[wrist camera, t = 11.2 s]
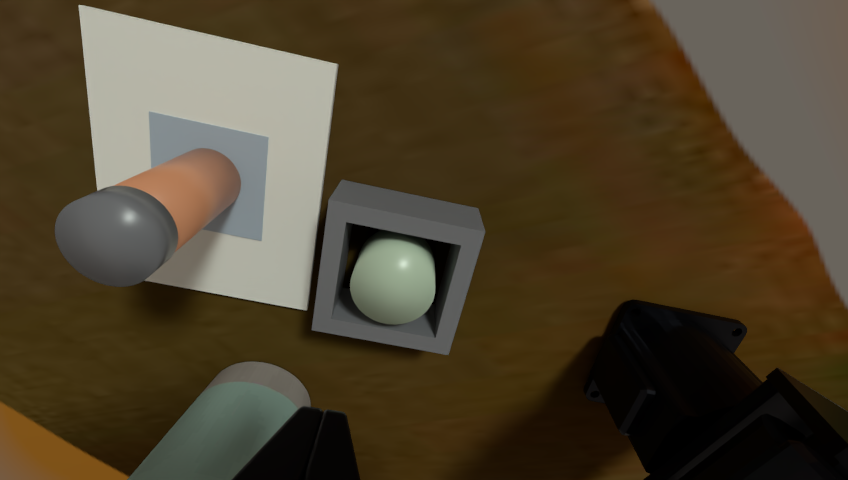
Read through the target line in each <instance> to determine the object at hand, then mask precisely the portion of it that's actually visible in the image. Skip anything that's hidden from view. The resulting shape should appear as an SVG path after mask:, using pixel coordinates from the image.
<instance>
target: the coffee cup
mask: <svg viewBox="0 0 848 480" xmlns="http://www.w3.org/2000/svg"><path fill="white" fill-rule="evenodd" d="M302 406H308V407H311V403H310V398H309V395H308V392H307V390H306V389H305V387H304V386H303V384H302V383H301V382H300V381H299V380H298V379H297V378H296V377H295V376H294V375H292V374H291V373H289V372H288V371H286V370H284V369H282V368H280V367H277V366H275V365H272V364H268V363H263V362H242V363H237V364H234V365H231V366H229V367H227V368H225V369H224V370H222V371H221V372H220V373H219V374H218V375H217V376H216V377H215V378H214V379H213V381H212V382H211V383H210V384H209V385H208V386H207V387H206V389H205V390H204V391H203V392H202V393H201V394H200V396H199V397H198V398H197V399H196V400H195V401H194V402H193V404H192V405H191V406H190V407H189V408H188V409H187V411H186V412H185V413H184V414H183V415H182V416H181V418H180V419H179V420H178V421H177V422H176V423H175V425H174V426H173V427H172V428H171V429H170V430H169V432H168V433H167V434H166V435H165V436H164V437H163V439H162V440H161V441H160V442H159V443H158V444H157V446H156V447H155V448H154V449H153V450H152V451H151V453H150V454H149V455H148V456H147V457H146V458H145V460H144V461H143V462H142V463H141V464H140V465H139V467H138V468H137V469H136V470H135V471H134V472H133V474H132V475H131V476H130V477H129V478H128V479H127V480H231V479H232V478H233V477H234V476H235V475H236V474H237V473H238V472H239V471H240V470H241V469H242V468H243V467H244V466H245V465H246V464H247V462H248V461H249V460H250V459H251V458H252V457H253V456H254V455H255V454H256V453H257V452H258V451H259V450H260V449H261V448H262V447H263V445H264V444H265V443H266V442H267V441H268V440H269V439H270V438H271V437H272V436H273V435H274V434H275V433H276V432H277V431H278V430H279V428H280V427H281V426H282V425H283V424H284V423H285V422H286V421H287V420H288V419H289V418H290V417H291V416H292V415H293V414H294V413H295V412H296V410H297V409H299V408H300V407H302Z"/></svg>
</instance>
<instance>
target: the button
mask: <svg viewBox="0 0 848 480" xmlns="http://www.w3.org/2000/svg"><path fill="white" fill-rule="evenodd" d="M350 292H351V296H352V299H353V301H354V303H355V305H356V306H357V307H358V309H359V310H360V311H361V312H362V313H363V314H365V315H366V316H367V317H369V318H371V319H373V320H375V321H377V322H380V323H384V324H393V325H397V324H404V323H408V322H411V321H413V320H416V319H417V318H419V317H421V316H422V315H423V314H424V313H425V312H426V311H427V310H428V309H429V307H430V306H431V304H432V302H433V300H434V296H435V259H434V254H433V251H432V249H431V247H430V246H429V244H428V243H427V242H426V240H425V239H423V238H422V237H417V236H412V235H407V234H402V233H397V232H392V231H388V230H381V231H378V232H376V233H375V234H373V235H372V236H370V237H369V238H368V239H367V240H366V241H365V243H364V244H363V246H362V248H361V250H360V253H359V256H358V259H357V262H356V265H355V268H354V271H353V273H352V277H351V281H350Z"/></svg>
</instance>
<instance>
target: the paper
mask: <svg viewBox="0 0 848 480" xmlns="http://www.w3.org/2000/svg"><path fill="white" fill-rule="evenodd" d="M79 13H80V23H81V33H82V43H83V53H84V63H85V73H86V83H87V93H88V103H89V113H90V122H91V132H92V142H93V152H94V162H95V172H96V182H97V191H98V190H101V189H103V188H106V187H110V186H114V185H116V184H118V183H120V182H122V181H125V180H127V179H129V178H131V177H133V176H136V175H138V174H140V173H142V172H144V171H147V170H149V169H151V168H153V167H156V166H158V165H160V164H162V163H164V162H167V161H169V160H171V159H173V158H175V157H178V156H180V155H182V154H184V153H186V152H189V151H191V150H193V149H198V148H207V149H212V150H215V151H218V152H220V153H222V154H223V155H225V156H226V157H227V158H228V159H230V160H231V162H232V163H233V164H234V165H235V167H236V168H237V170H238V172H239V175H240V179H241V190H240V193H239V195H238V197H237V199H236V200H235V201H234V202H233V203H232V204H231V205H230V206H229V207H227V208H226V209H225V210H224V211H223V212H222V213H220V214H219V215H218V216H217V217H216V218H215V219H213V220H212V221H211V222H210V223H209V224H208V225H206V226H205V227H204V228H203V229H202V230H200V231H199V232H198V233H197V234H196V235H195V236H193V237H192V238H191V239H190V240H189V241H188V242H186V243H185V244H184V245H183V246H182V247H181V248H179V249H178V250H177V251H176V252H175V253H174V254H173V255H172V257H171V258H170V259H169V260H168V261H167V262H165V263H164V264H163V265H162V266H161V267H160V268H159V269H157V270H156V271H155V272H154V273H153V274H152V275H150V276H149V277H148V278H147V279H145V280H144V281H150V282H155V283H161V284H166V285H171V286H177V287H182V288H187V289H193V290H198V291H204V292H209V293H214V294H220V295H225V296H231V297H236V298H241V299H247V300H252V301H257V302H263V303H268V304H274V305H279V306H284V307H290V308H295V309H300V310H306V311H307V309H308V304H309V296H310V288H311V280H312V272H313V264H314V256H315V248H316V240H317V232H318V224H319V216H320V208H321V200H322V192H323V184H324V176H325V168H326V160H327V152H328V144H329V136H330V128H331V120H332V112H333V104H334V96H335V88H336V80H337V72H338V64H335V63H331V62H326V61H322V60H318V59H313V58H309V57H305V56H300V55H296V54H292V53H287V52H283V51H279V50H274V49H270V48H266V47H261V46H257V45H253V44H248V43H244V42H240V41H235V40H231V39H227V38H222V37H218V36H214V35H209V34H205V33H201V32H196V31H192V30H188V29H183V28H179V27H175V26H170V25H166V24H162V23H158V22H153V21H149V20H145V19H140V18H136V17H132V16H127V15H123V14H119V13H114V12H110V11H106V10H101V9H97V8H93V7H88V6H83V5H79Z"/></svg>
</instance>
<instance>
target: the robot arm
mask: <svg viewBox="0 0 848 480" xmlns="http://www.w3.org/2000/svg"><path fill="white" fill-rule="evenodd" d="M635 308H637V310H636V311H634V312H631V311H632V310H633V309H635ZM734 329H736V330H735V331H733V330H734ZM732 331H733V332H732ZM746 333H747V328H746V326H745V325H744V324H742V323H741V322H740V321H738V320H735V319H730V318H725V317H720V316H715V315H710V314H705V313H700V312H695V311H690V310H685V309H680V308H674V307H669V306H664V305H659V304H654V303H649V302H644V301H639V300H630V301H628V302H627V303H625V305H624V306H623V308H622V310H621V312H620V314H619V316H618V318H617V320H616V322H615V324H614V326H613V329H612V331H611V333H610V335H609V336H608V337H607V338H606V340H605V342H604V344H603V346H602V348H601V350H600V352H599V354H598V356H597V359H596V361H595V363H594V365H593V367H592V369H591V371H590V373H591V374H590V376H589V378H588V380H587V383H586V385H585V387H584V393H585V395H586V398H587V399H588V400H590V401H595V402H600V403H605V404H606V406H607V408H608V410H609V412H610V414H611V416H612V418H613V420H614V422H615V424H616V426H617V428H618V430H619V431H620V433H621V434H622V435H627V436H628V437H629V439H630V441H631V443H632V445H633V447H634V449H635V451H636V453H637V455H638V457H639V459H640V461H641V463H642V465H643V467H644V469H645V471H646V472H647V473H650V475H649V476H647V477H646V478H645V479H644V480H848V411H846V410H845V409H843V408H841V407H840V406H838V405H837V404H835V403H833V402H832V401H830V400H829V399H827V398H825V397H824V396H822V395H821V394H819V393H817V392H816V391H814V390H813V389H811V388H809V387H808V386H806V385H805V384H803V383H801V382H800V381H798V380H797V379H795V378H793V377H792V376H790V375H789V374H787V373H786V372H784V371H782V370H781V369H779V368H776V369H775V370H774V371H772V372H771V373H770V374H769V375H767V376H766V378H767V380H766V381H765V382H762V381H761V380H760V379H759V378H758V377H757V376H756V375H755V374H754V373H753V372H752V371H751V370H750V369H749V368H748V367H747V366H746V365H745V364H744V363H743V362H742V361H741V360H740V359H739V358H738V357H737V356H736V355H735V354H734V352H735V350H736V349H737V347H738V346H739V344H740V343H741V341H742V340H743V338H744V336H745V335H746ZM593 391H595V392H593ZM231 480H360V476H359V472H358V467H357V462H356V457H355V453H354V448H353V443H352V439H351V434H350V429H349V424H348V420H347V416H346V414H345V413H344V412H340V411H333V410H325V411H324V412H323V411H322V410H321V409H320V408H314V407H308V406H302V407H300V408H299V409H297V410H296V412H295V413H294V414H293V415H292V416H291V417H290V418H289V419H288V420H287V421H286V422H285V423H284V424H283V425H282V426H281V427H280V428H279V430H278V431H277V432H276V433H275V434H274V435H273V436H272V437H271V438H270V439H269V440H268V441H267V442H266V443H265V444H264V445H263V447H262V448H261V449H260V450H259V451H258V452H257V453H256V454H255V455H254V456H253V457H252V458H251V459H250V460H249V461H248V462H247V464H246V465H245V466H244V467H243V468H242V469H241V470H240V471H239V472H238V473H237V474H236V475H235V476H234V477H233V478H232V479H231Z"/></svg>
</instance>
